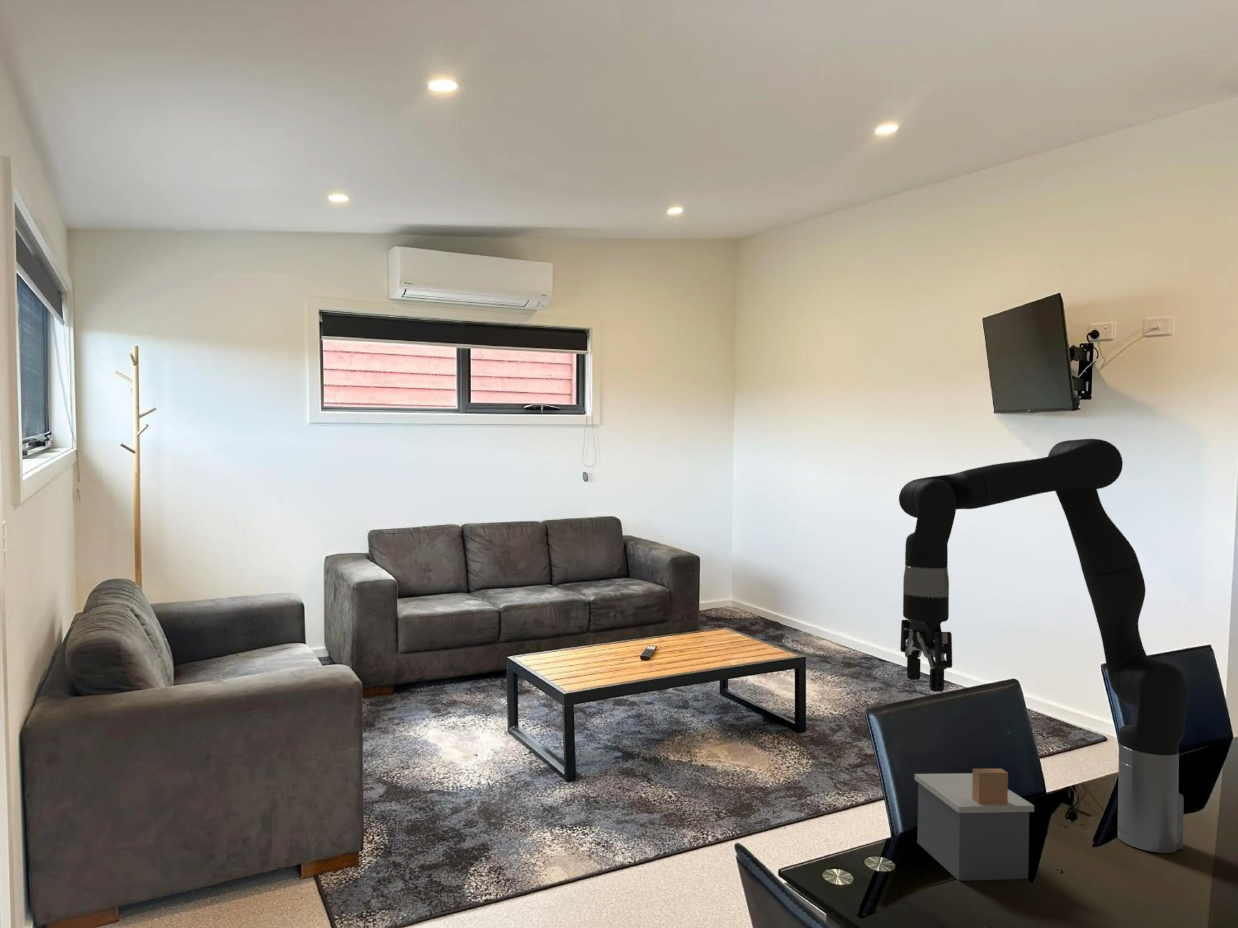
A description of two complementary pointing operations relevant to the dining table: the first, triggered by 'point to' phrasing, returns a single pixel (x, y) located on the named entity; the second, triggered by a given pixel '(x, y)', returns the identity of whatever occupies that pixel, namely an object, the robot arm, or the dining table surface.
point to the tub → (973, 840)
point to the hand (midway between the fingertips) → (924, 684)
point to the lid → (975, 791)
